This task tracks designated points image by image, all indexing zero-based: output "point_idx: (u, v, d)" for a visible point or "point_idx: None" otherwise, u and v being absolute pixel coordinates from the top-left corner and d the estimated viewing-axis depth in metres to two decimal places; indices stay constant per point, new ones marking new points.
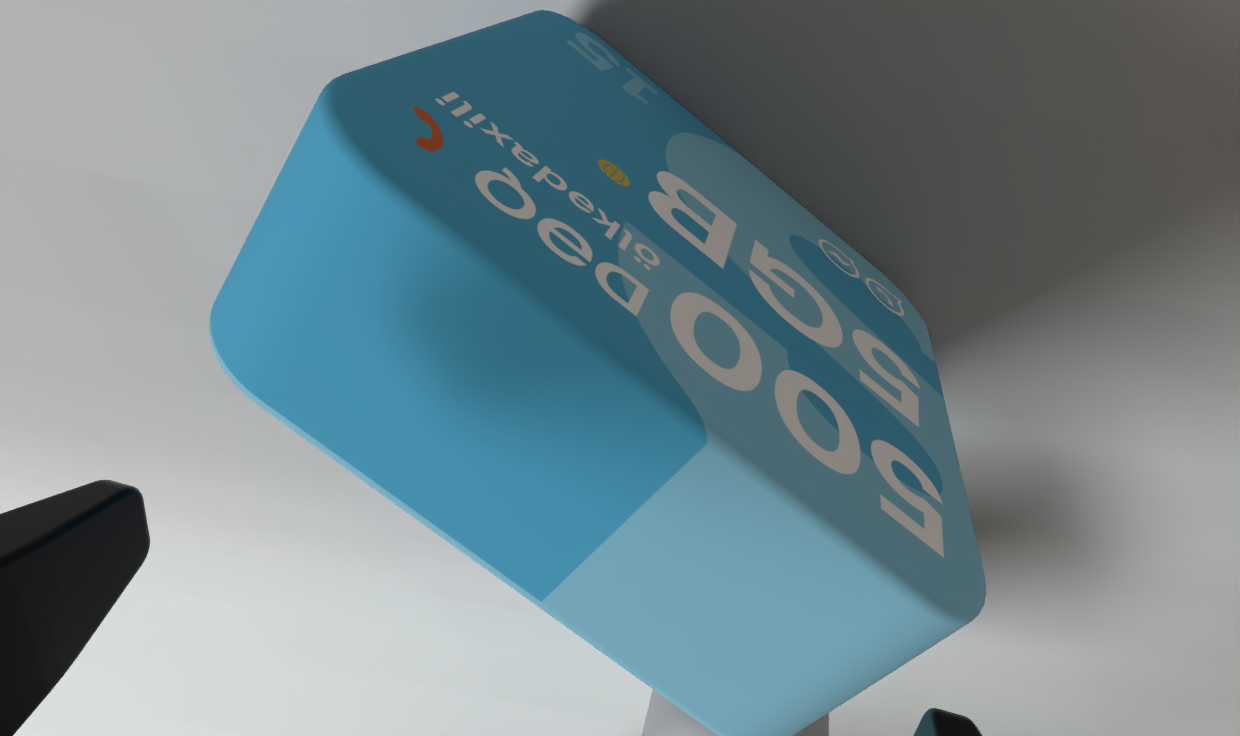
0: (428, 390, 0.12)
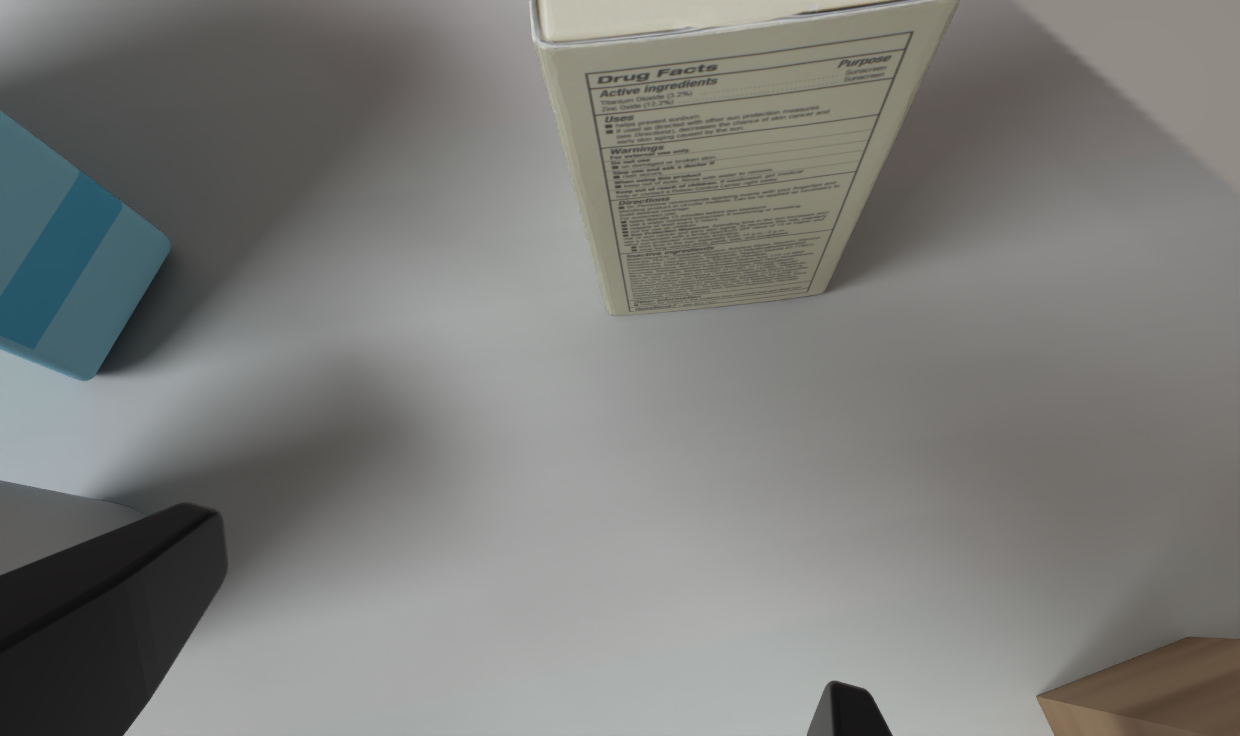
0: None
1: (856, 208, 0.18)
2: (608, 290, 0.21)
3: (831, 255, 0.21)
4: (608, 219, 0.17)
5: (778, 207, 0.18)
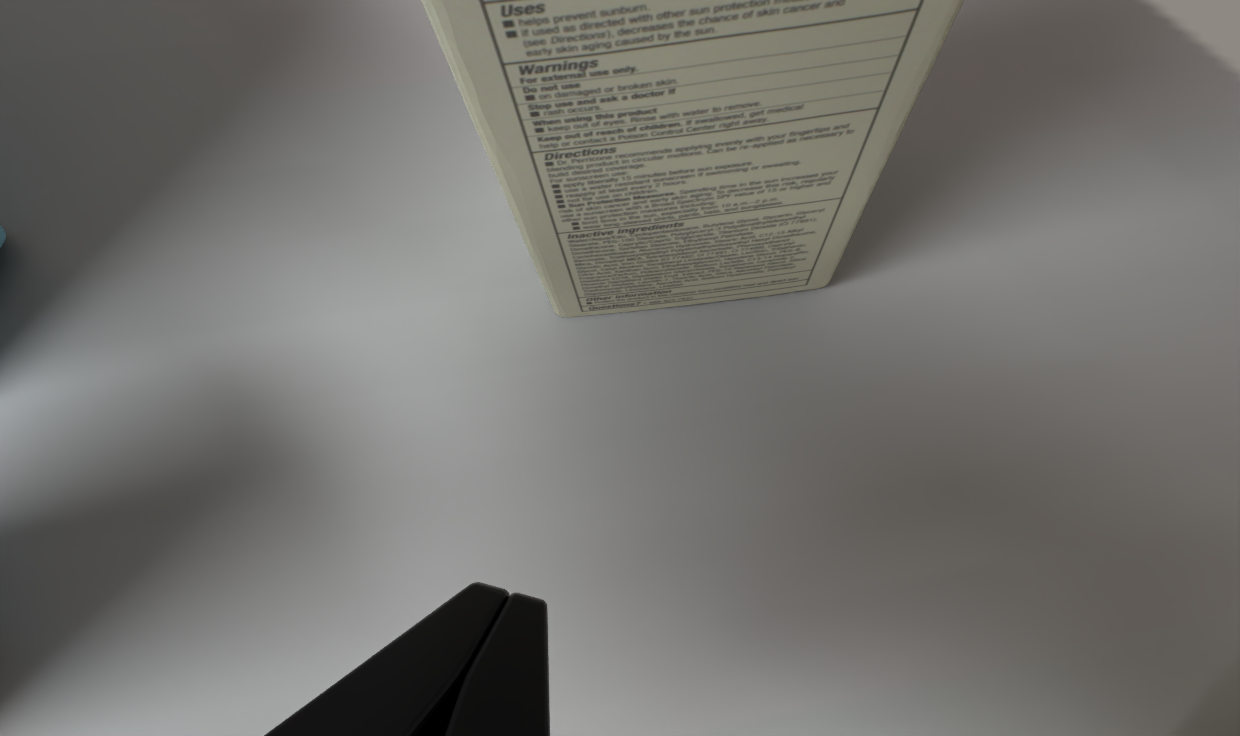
0: None
1: (876, 166, 0.13)
2: (550, 283, 0.17)
3: (838, 235, 0.16)
4: (534, 182, 0.13)
5: (768, 164, 0.13)
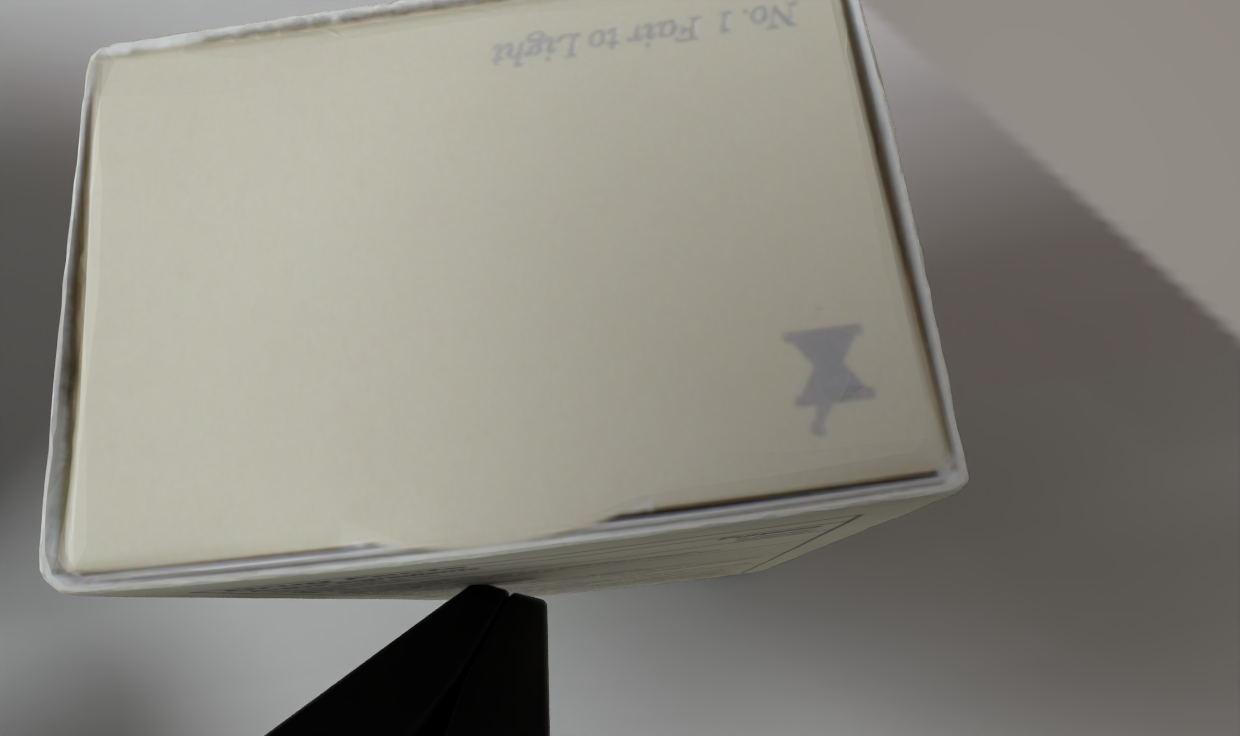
0: None
1: (795, 555, 0.12)
2: None
3: (768, 564, 0.14)
4: (398, 597, 0.11)
5: (669, 571, 0.11)
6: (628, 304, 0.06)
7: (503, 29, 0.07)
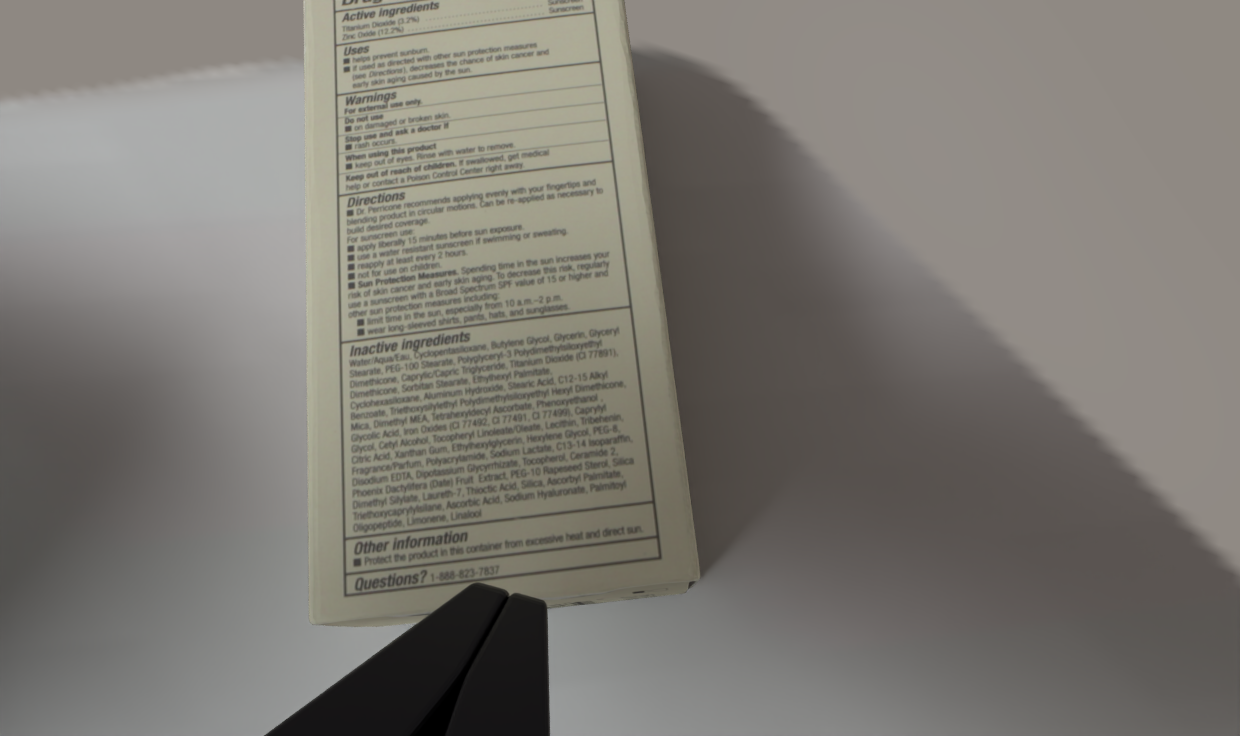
0: None
1: (644, 249, 0.14)
2: (316, 485, 0.13)
3: (657, 400, 0.13)
4: (333, 240, 0.15)
5: (538, 232, 0.14)
6: None
7: None
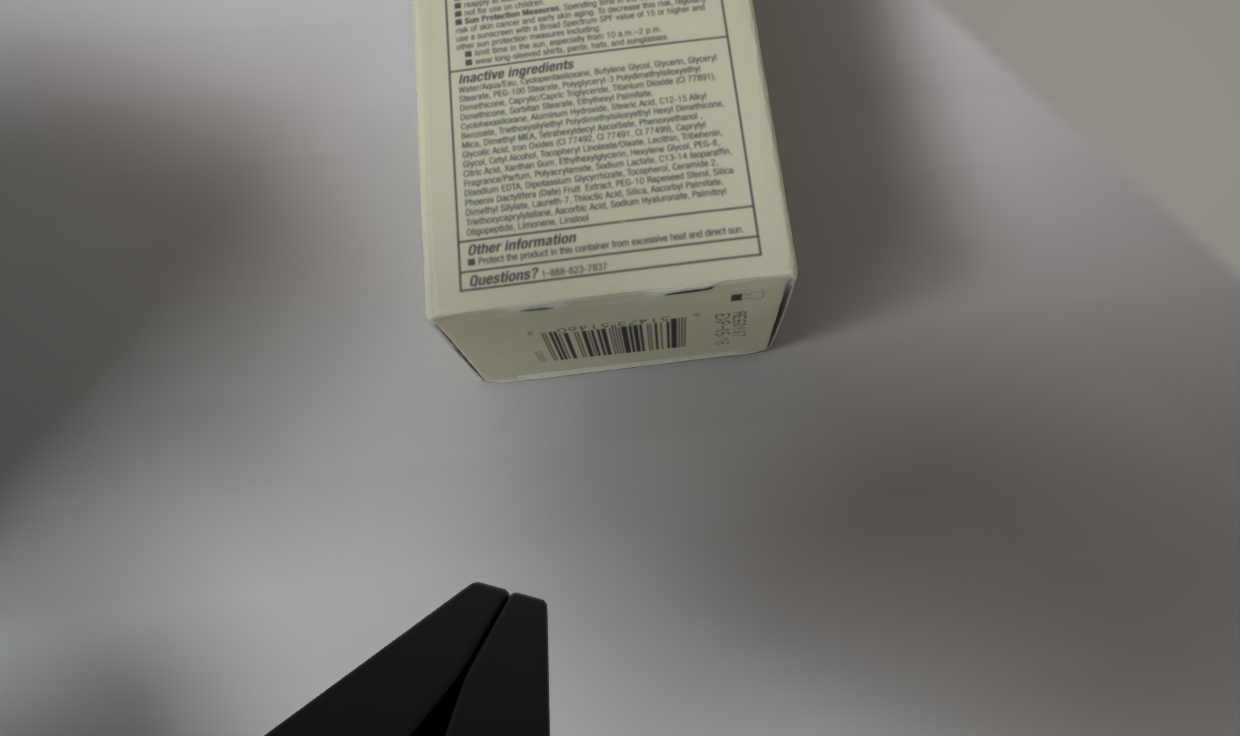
0: None
1: None
2: (430, 196, 0.14)
3: (754, 117, 0.14)
4: None
5: None
6: None
7: None
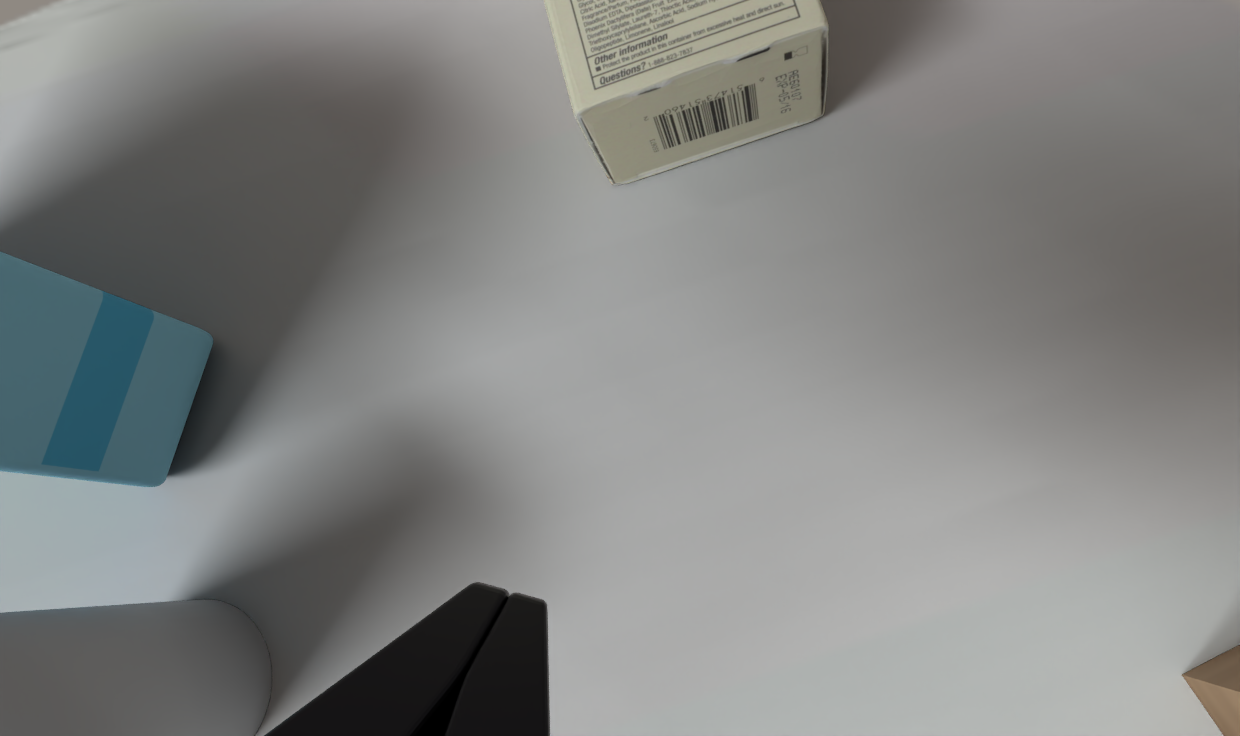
0: None
1: None
2: (560, 33, 0.20)
3: None
4: None
5: None
6: None
7: None
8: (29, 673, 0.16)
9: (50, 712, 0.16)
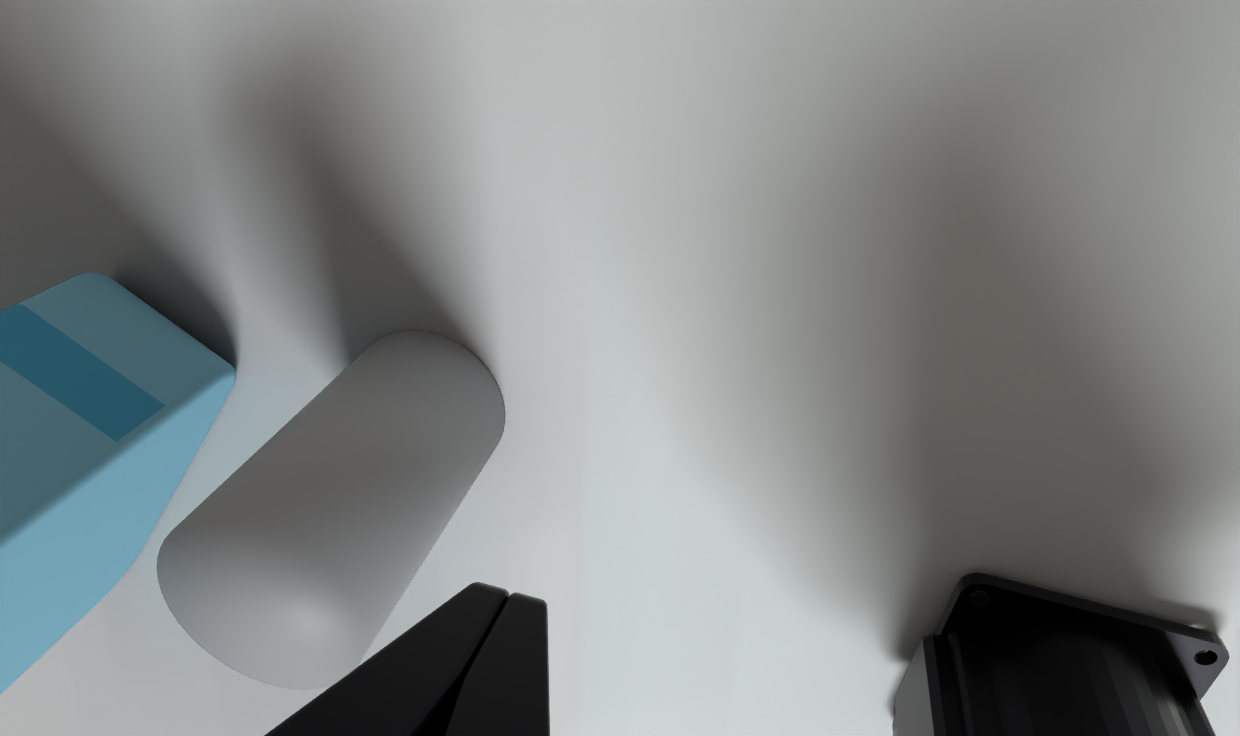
0: None
1: None
2: None
3: None
4: None
5: None
6: None
7: None
8: (239, 491, 0.16)
9: (285, 487, 0.16)
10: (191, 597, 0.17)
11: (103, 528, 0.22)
